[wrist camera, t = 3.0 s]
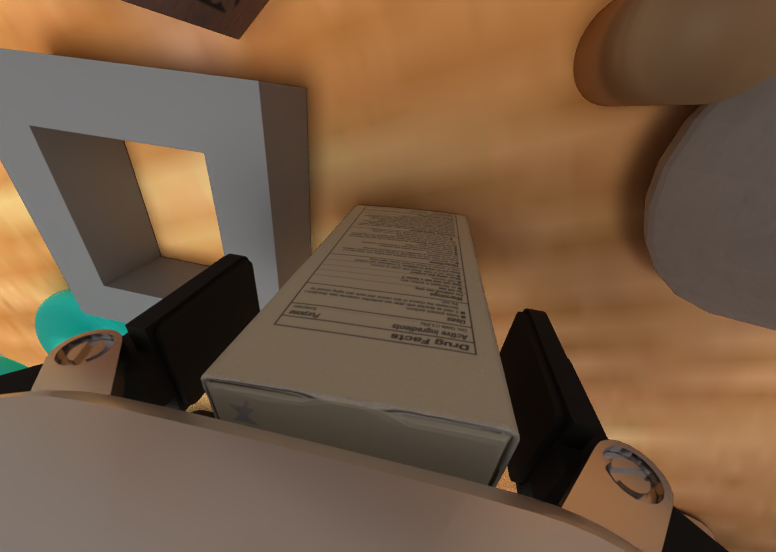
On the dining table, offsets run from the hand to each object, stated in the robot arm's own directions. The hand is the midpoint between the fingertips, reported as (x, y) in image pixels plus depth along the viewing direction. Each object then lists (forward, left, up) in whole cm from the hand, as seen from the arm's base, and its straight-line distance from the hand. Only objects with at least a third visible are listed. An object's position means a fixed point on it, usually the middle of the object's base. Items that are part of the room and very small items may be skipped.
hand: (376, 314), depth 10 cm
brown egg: (-7, -9, -7) cm, 14 cm away
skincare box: (0, 0, -8) cm, 8 cm away
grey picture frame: (+13, 0, -7) cm, 15 cm away
